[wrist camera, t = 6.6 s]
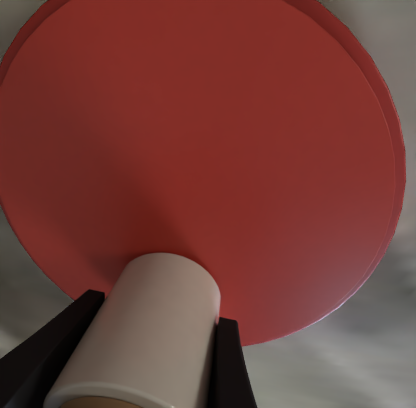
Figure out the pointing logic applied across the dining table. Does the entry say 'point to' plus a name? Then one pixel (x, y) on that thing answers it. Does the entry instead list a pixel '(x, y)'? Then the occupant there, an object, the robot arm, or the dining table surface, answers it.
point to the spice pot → (146, 341)
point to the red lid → (202, 150)
